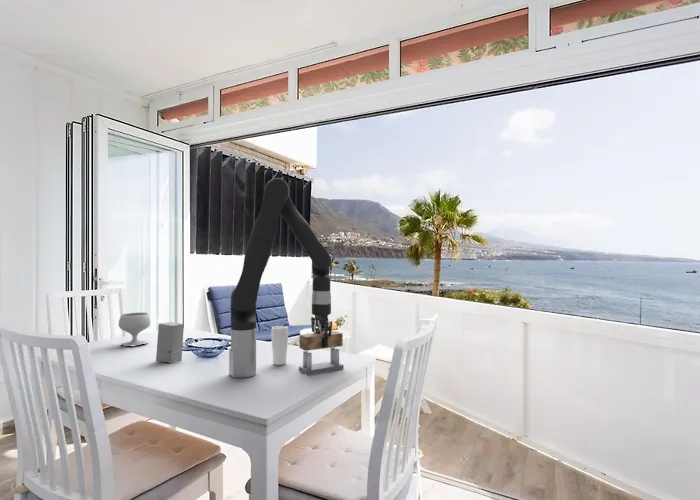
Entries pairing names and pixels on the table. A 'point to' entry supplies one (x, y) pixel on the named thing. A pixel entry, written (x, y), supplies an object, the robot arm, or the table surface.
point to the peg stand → (320, 367)
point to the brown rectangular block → (320, 341)
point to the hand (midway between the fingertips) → (321, 345)
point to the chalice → (134, 326)
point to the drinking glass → (279, 344)
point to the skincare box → (169, 342)
